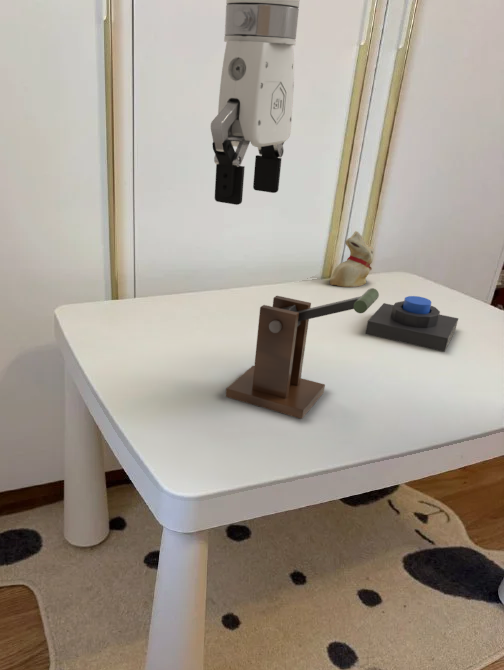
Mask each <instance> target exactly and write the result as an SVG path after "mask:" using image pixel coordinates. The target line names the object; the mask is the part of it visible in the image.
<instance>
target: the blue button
mask: <svg viewBox="0 0 504 670" xmlns="http://www.w3.org/2000/svg"><path fill="white" fill-rule="evenodd" d="M403 301H404V304H403V310H405V311H408V312H411V313H416V314H428V313H429V311H430V307H431V306H432V301H431V300H430V299H428V298H426V297H422V296H418V295H417V296H416V295H409V296H405V297H404V300H403Z"/></svg>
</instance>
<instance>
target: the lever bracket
mask: <svg viewBox="0 0 504 670" xmlns="http://www.w3.org/2000/svg"><path fill="white" fill-rule="evenodd" d="M272 299H273V300H272V306H271V305H266V304H263V305H261V306H260V307H259V316H258V326H257V336H256V345H255V347H256V348H255V355H254V365H251V366H250V367H249V368H248V369H247V370H246V371H245V372H244V373H242V374H241V375H240V376H239V377H238V378H236V379H234V381H233V382H232V383H230V384H229V385H228V386H227V387H226V389H225V397H226V398H228V399H232V400H236V401H239V402H241V403H242V402H243V403H246V404H249V405H252V406H256V407H259V408H263V409H266V410H269V411H273V412H277V413H279V414H284V415H286V416H290V417H293V418H296V419H297V418H298V419H301V420H303V418H304V417H306V415H307V414H308V412H309V411H310V410H311V409H312V408H313V406H314V405H315V404H316V403H317V401H319V399H320V398H321V397H322V395H324V393H325V388H326V385H325V384H324V383H321V382H317V381H313V380H309V379H307V378H302V372H303V365H304V358H305V351H306V344H307V343H306V342H307V336H308V329H309V322H310V319H307V320H303V321H300V322H301V324H300V325H299V326H298V327H297V325H298V317H299V313H298V312H294V311H289V310H285V309H280V308H284V307H288V306H292V305H295V306H296V309H297V311H300V310H305V309H309V308H312V302H309V301H304V300H299V299H295V298H290V297H286V296H282V295H275V296H274V297H273V298H272Z"/></svg>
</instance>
